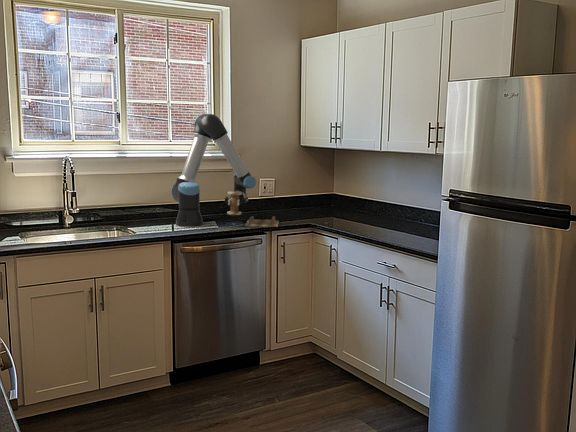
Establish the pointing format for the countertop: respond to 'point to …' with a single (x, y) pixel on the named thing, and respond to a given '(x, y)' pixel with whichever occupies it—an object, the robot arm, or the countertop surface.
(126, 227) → the countertop surface
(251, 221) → the board
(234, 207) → the bobbin
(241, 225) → the countertop surface
